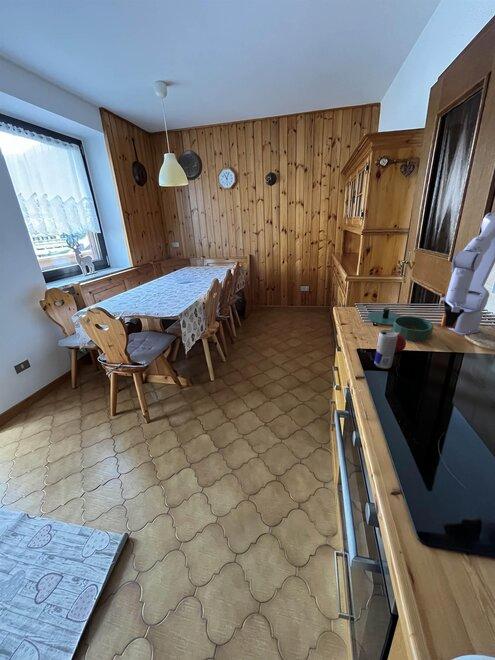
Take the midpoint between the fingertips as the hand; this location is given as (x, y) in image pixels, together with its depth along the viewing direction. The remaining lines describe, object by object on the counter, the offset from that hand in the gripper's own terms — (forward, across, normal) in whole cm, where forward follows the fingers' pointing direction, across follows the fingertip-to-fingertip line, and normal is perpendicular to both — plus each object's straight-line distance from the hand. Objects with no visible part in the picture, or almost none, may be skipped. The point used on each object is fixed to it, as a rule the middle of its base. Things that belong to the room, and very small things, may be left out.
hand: (448, 323), depth 102 cm
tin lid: (+8, -14, -21) cm, 26 cm away
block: (+1, 0, 0) cm, 1 cm away
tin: (+8, -3, -11) cm, 14 cm away
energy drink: (+8, +24, -18) cm, 31 cm away
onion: (+8, +14, -15) cm, 22 cm away
